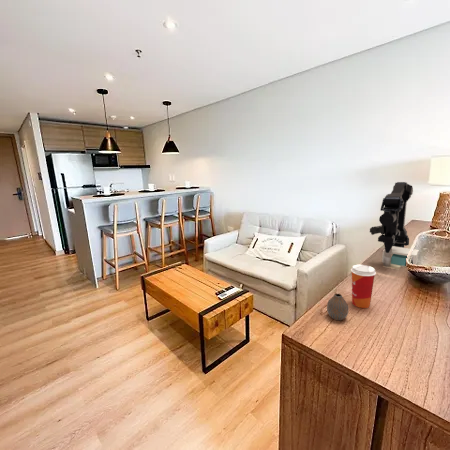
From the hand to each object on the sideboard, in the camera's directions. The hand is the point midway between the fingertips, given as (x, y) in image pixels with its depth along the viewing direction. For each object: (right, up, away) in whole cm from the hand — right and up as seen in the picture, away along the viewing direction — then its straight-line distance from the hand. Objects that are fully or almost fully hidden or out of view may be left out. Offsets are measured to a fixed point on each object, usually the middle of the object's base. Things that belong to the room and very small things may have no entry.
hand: (387, 251), depth 122 cm
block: (+9, -6, +4) cm, 12 cm away
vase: (-42, -20, -35) cm, 58 cm away
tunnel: (+10, -7, +6) cm, 14 cm away
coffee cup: (-30, -17, -28) cm, 44 cm away
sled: (+6, -8, +3) cm, 10 cm away
